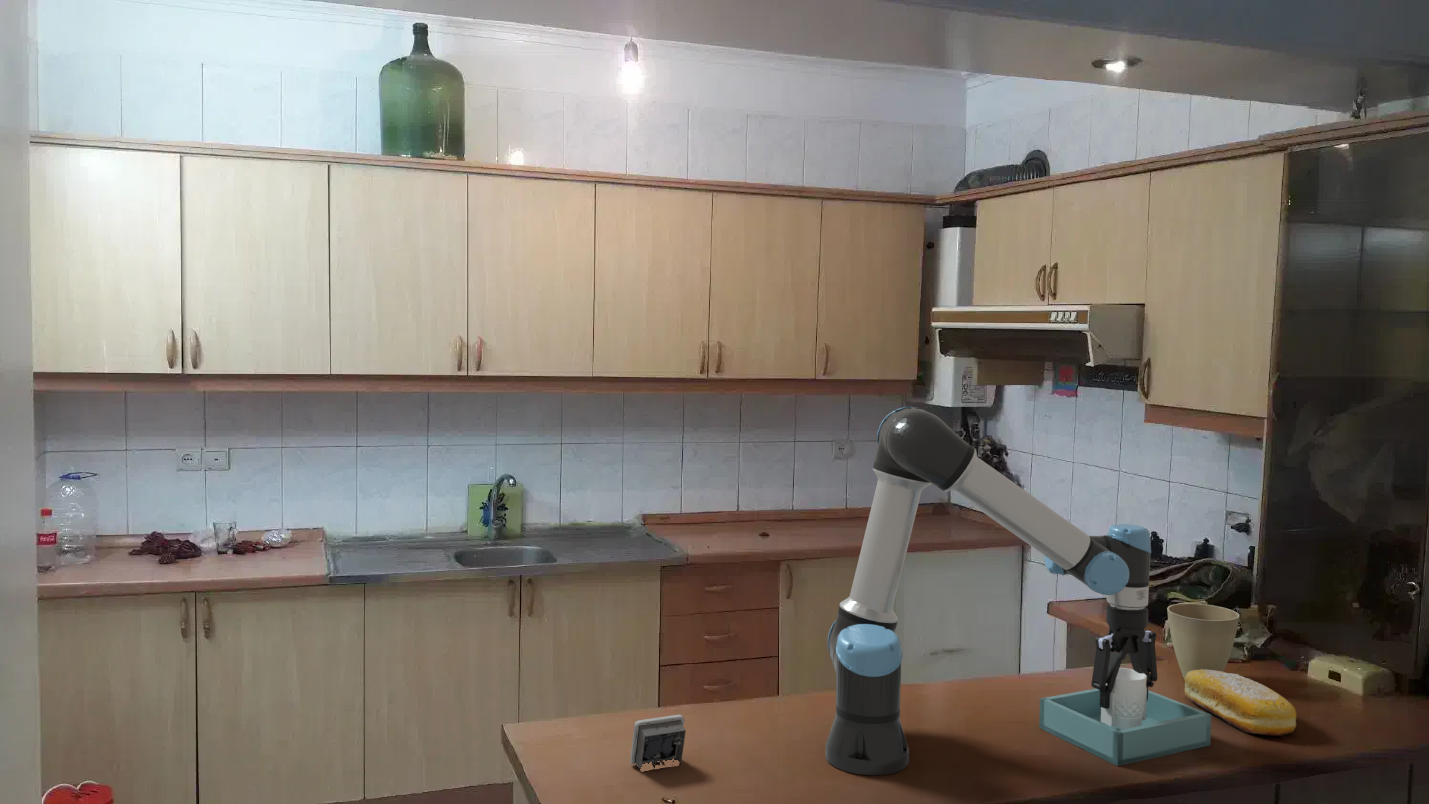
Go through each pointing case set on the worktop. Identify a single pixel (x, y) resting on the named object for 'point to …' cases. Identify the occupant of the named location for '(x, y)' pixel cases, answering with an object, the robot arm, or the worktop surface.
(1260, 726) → the bread
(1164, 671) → the worktop surface
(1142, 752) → the walled box
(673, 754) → the electrical switch
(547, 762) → the worktop surface
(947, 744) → the worktop surface
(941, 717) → the worktop surface
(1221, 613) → the plant pot
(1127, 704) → the white cup
